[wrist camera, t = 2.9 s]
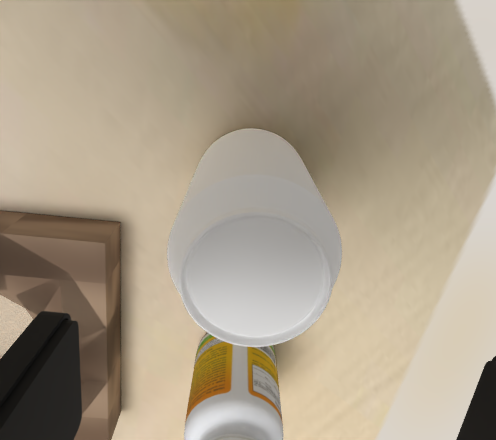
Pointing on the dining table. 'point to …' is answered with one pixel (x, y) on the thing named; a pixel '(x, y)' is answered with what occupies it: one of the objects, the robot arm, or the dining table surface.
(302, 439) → the dining table surface
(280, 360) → the dining table surface
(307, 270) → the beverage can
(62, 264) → the can holder
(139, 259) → the dining table surface
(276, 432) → the supplement bottle
